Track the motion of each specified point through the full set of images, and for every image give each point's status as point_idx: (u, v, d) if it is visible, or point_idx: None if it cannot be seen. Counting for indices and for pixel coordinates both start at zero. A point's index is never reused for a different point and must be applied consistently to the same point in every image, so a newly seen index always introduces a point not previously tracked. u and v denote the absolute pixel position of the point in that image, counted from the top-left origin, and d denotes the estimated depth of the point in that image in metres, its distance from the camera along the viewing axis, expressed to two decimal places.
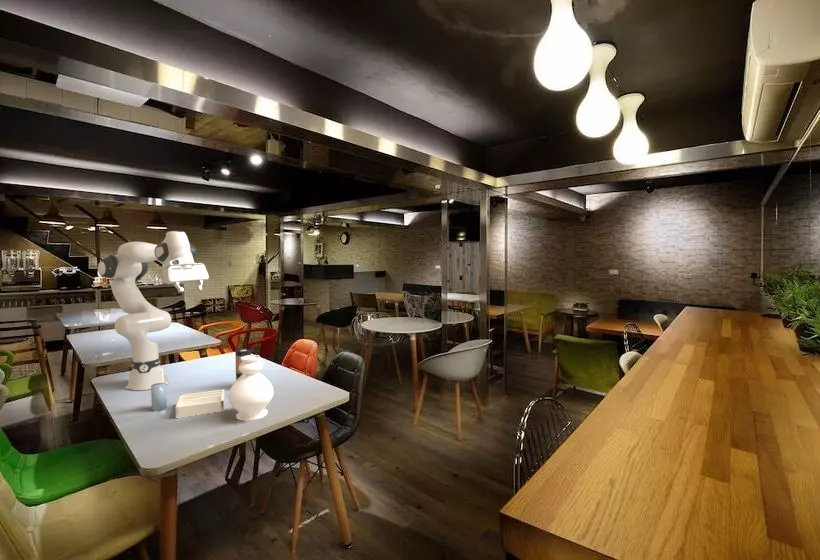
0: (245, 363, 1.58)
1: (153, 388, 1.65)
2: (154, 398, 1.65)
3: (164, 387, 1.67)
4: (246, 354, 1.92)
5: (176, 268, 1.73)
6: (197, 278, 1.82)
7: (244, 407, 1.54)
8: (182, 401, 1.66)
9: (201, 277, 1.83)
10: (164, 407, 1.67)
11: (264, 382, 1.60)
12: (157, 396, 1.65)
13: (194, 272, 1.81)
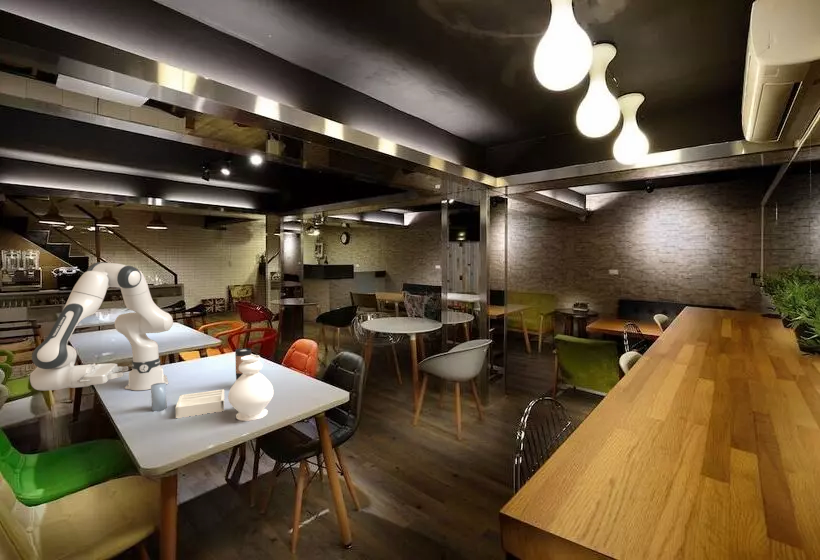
0: (245, 363, 1.58)
1: (153, 388, 1.65)
2: (154, 398, 1.65)
3: (164, 387, 1.67)
4: (246, 354, 1.92)
5: None
6: None
7: (244, 407, 1.54)
8: (182, 401, 1.66)
9: None
10: (164, 407, 1.67)
11: (264, 382, 1.60)
12: (157, 396, 1.65)
13: None
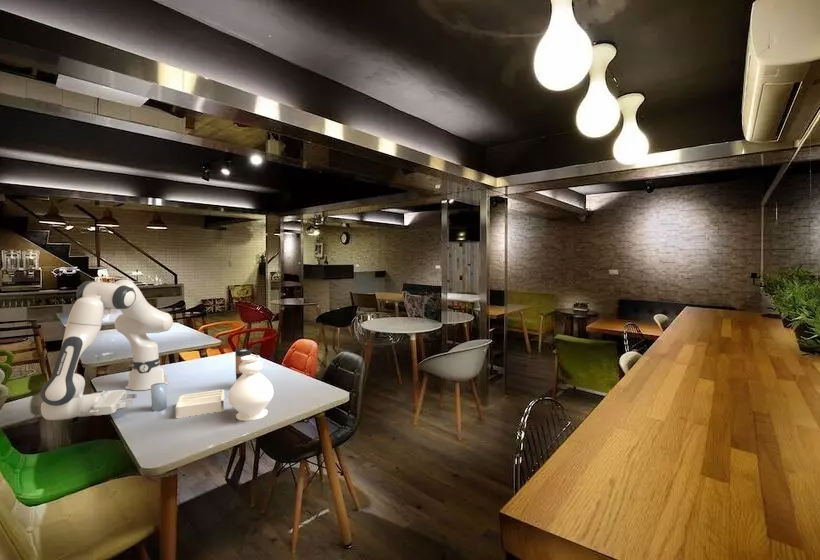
0: (245, 363, 1.58)
1: (153, 388, 1.65)
2: (154, 398, 1.65)
3: (164, 387, 1.67)
4: (246, 354, 1.92)
5: None
6: None
7: (244, 407, 1.54)
8: (182, 401, 1.66)
9: None
10: (164, 407, 1.67)
11: (264, 382, 1.60)
12: (157, 396, 1.65)
13: None
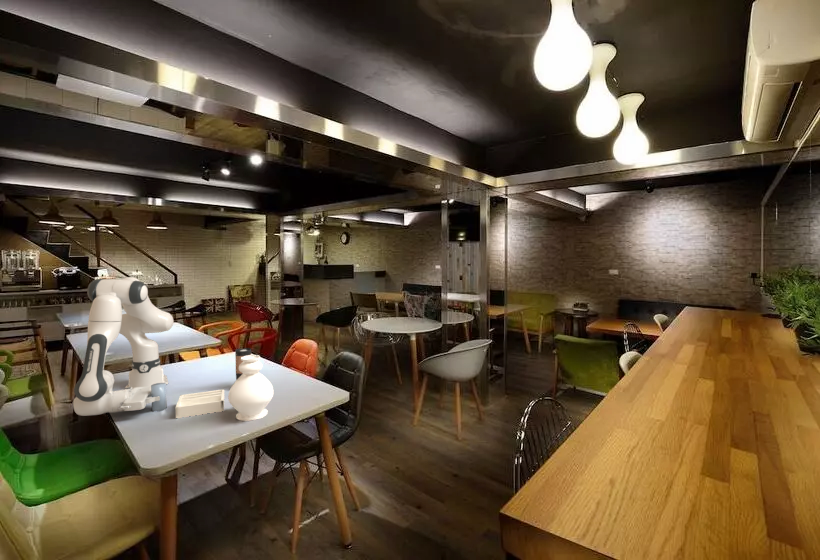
0: (245, 363, 1.58)
1: (153, 388, 1.65)
2: None
3: (164, 387, 1.67)
4: (246, 354, 1.92)
5: None
6: None
7: (244, 407, 1.54)
8: (182, 401, 1.66)
9: None
10: (164, 407, 1.67)
11: (264, 382, 1.60)
12: None
13: None
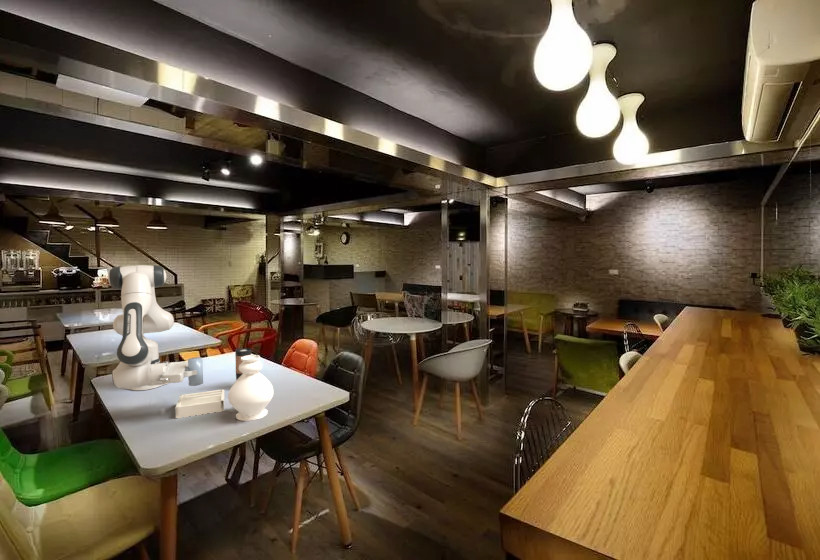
0: (245, 363, 1.58)
1: (190, 362, 1.61)
2: None
3: (201, 361, 1.64)
4: (246, 354, 1.92)
5: None
6: None
7: (244, 407, 1.54)
8: (182, 401, 1.66)
9: None
10: (201, 382, 1.64)
11: (264, 382, 1.60)
12: None
13: None
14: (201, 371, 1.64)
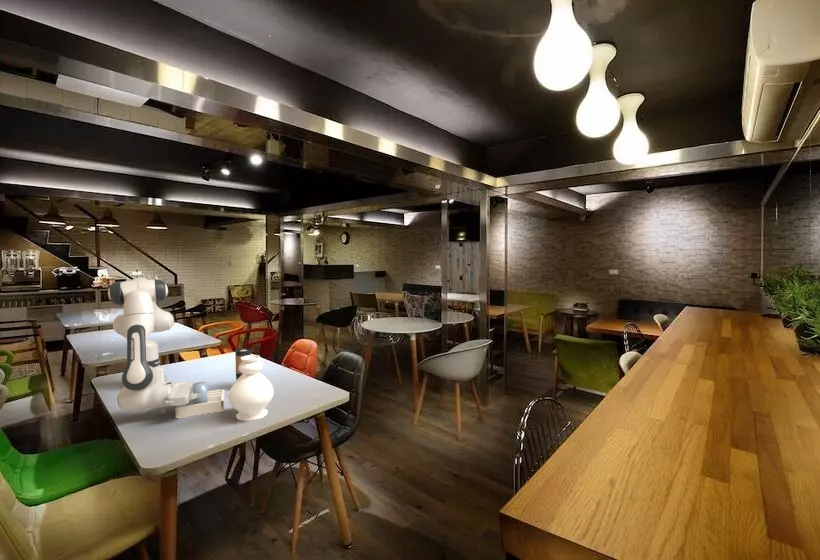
0: (245, 363, 1.58)
1: (195, 387, 1.62)
2: None
3: (206, 386, 1.65)
4: (246, 354, 1.92)
5: None
6: None
7: (244, 407, 1.54)
8: None
9: None
10: None
11: (264, 382, 1.60)
12: None
13: None
14: (206, 396, 1.65)
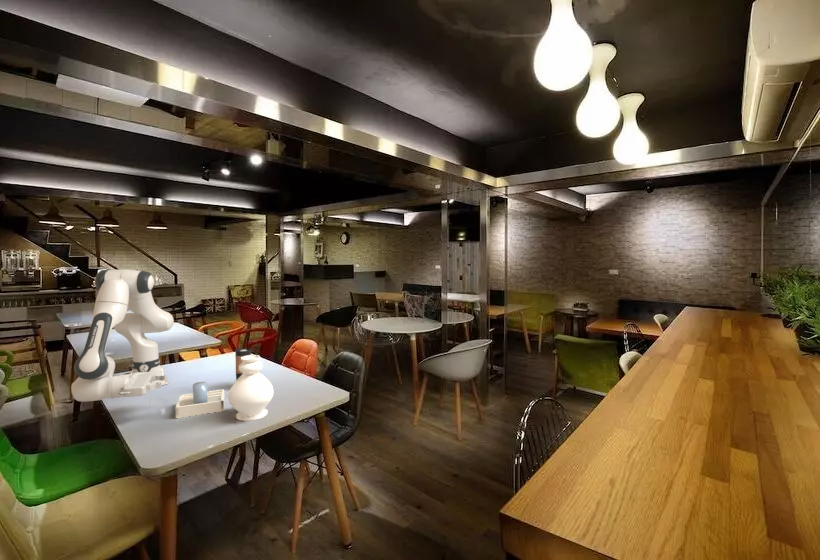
0: (245, 363, 1.58)
1: (195, 387, 1.62)
2: (196, 397, 1.63)
3: (206, 386, 1.65)
4: (246, 354, 1.92)
5: None
6: None
7: (244, 407, 1.54)
8: (182, 401, 1.66)
9: None
10: None
11: (264, 382, 1.60)
12: (199, 395, 1.63)
13: None
14: (206, 396, 1.65)
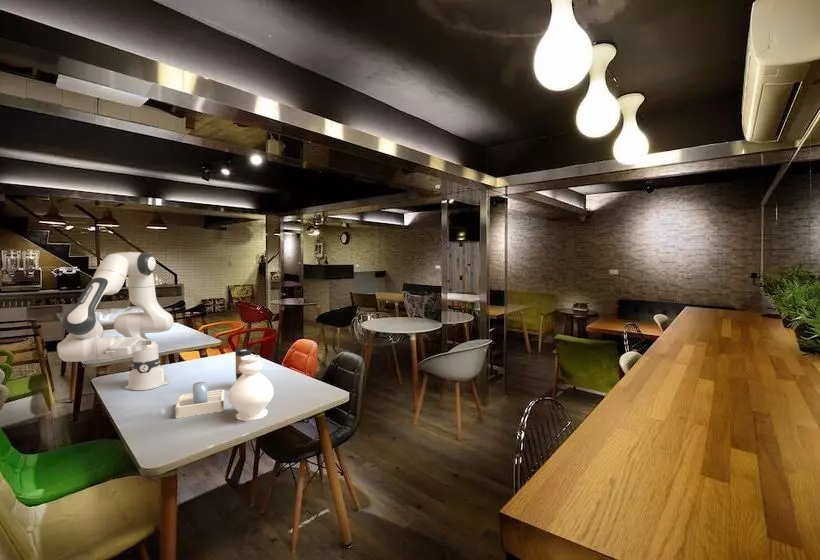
0: (245, 363, 1.58)
1: (195, 387, 1.62)
2: (196, 397, 1.63)
3: (206, 386, 1.65)
4: (246, 354, 1.92)
5: None
6: None
7: (244, 407, 1.54)
8: (182, 401, 1.66)
9: None
10: None
11: (264, 382, 1.60)
12: (199, 395, 1.63)
13: None
14: (206, 396, 1.65)
